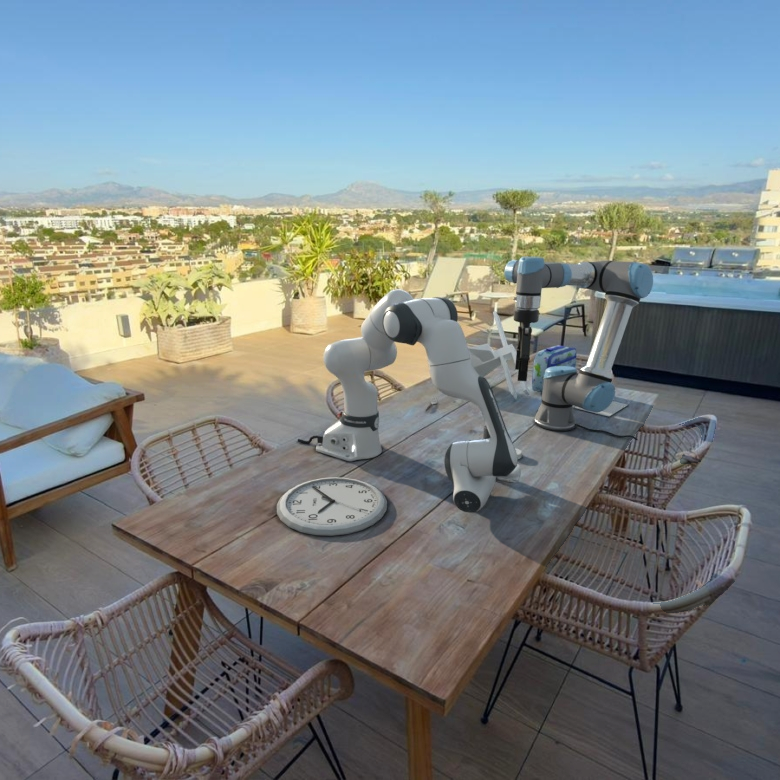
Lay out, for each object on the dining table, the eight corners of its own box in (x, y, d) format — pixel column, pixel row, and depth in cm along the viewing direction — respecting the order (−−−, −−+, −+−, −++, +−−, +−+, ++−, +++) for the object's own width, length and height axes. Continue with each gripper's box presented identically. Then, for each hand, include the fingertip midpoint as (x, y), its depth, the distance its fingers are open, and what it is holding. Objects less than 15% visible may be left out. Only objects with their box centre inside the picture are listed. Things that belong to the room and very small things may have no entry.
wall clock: (392, 527, 129) (268, 531, 127) (391, 533, 130) (269, 537, 127) (383, 473, 158) (282, 475, 155) (383, 478, 158) (282, 480, 156)
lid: (511, 450, 180) (511, 446, 179) (525, 457, 175) (525, 452, 175) (499, 455, 176) (499, 450, 176) (513, 461, 172) (513, 456, 171)
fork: (422, 411, 216) (422, 407, 215) (433, 400, 230) (433, 396, 230) (428, 412, 215) (429, 407, 215) (438, 401, 230) (439, 396, 229)
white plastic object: (461, 429, 252) (437, 405, 227) (444, 352, 274) (420, 323, 250) (535, 404, 240) (518, 377, 215) (510, 326, 262) (492, 293, 237)
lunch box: (548, 398, 236) (553, 353, 229) (527, 393, 243) (531, 349, 237) (575, 387, 253) (581, 344, 247) (555, 382, 260) (560, 341, 254)
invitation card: (608, 416, 214) (573, 407, 224) (608, 416, 214) (573, 408, 224) (628, 404, 229) (594, 396, 238) (628, 405, 229) (594, 397, 238)
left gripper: (518, 472, 142) (525, 453, 155) (446, 460, 149) (458, 442, 162) (516, 493, 144) (524, 473, 156) (445, 480, 151) (457, 461, 164)
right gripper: (512, 302, 173) (507, 364, 180) (516, 314, 150) (510, 385, 156) (535, 303, 172) (529, 365, 179) (543, 315, 149) (536, 386, 155)
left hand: (490, 457), depth 159 cm, fingers open, 8 cm apart
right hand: (520, 375), depth 167 cm, fingers open, 13 cm apart
